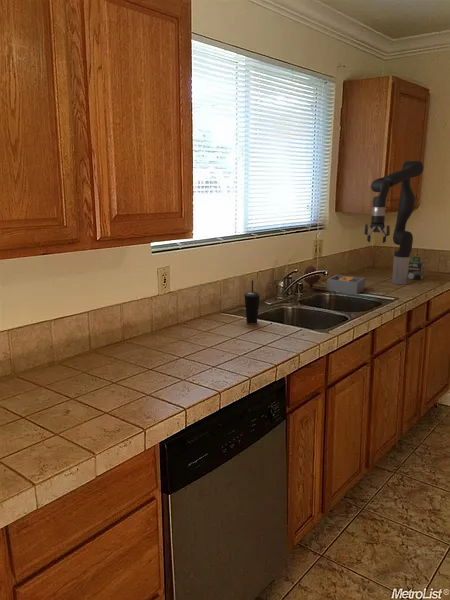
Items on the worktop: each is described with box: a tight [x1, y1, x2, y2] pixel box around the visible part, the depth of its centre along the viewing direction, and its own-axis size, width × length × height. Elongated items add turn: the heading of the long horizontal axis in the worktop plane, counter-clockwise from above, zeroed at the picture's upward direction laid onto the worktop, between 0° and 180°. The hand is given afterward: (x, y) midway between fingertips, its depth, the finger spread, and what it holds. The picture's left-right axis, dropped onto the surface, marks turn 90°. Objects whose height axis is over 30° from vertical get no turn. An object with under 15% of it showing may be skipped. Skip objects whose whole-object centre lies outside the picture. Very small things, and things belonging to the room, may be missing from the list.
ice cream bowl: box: [301, 265, 322, 293], centre depth 303 cm, size 11×11×15 cm
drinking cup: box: [243, 280, 261, 324], centre depth 236 cm, size 8×8×20 cm
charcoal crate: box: [326, 274, 366, 295], centre depth 306 cm, size 16×18×7 cm
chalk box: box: [408, 256, 425, 281], centre depth 340 cm, size 9×9×15 cm
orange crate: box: [339, 276, 354, 282], centre depth 306 cm, size 10×6×6 cm, turn 149°
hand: (376, 242), depth 304 cm, fingers open, 8 cm apart
